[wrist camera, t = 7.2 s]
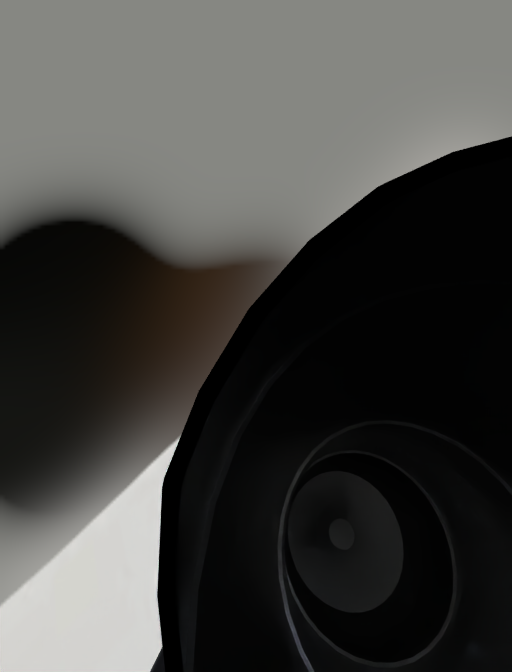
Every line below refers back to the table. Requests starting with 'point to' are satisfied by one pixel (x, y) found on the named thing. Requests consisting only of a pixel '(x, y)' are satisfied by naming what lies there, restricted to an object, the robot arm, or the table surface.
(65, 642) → the table surface
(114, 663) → the table surface
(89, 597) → the table surface
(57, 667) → the table surface
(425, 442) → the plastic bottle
